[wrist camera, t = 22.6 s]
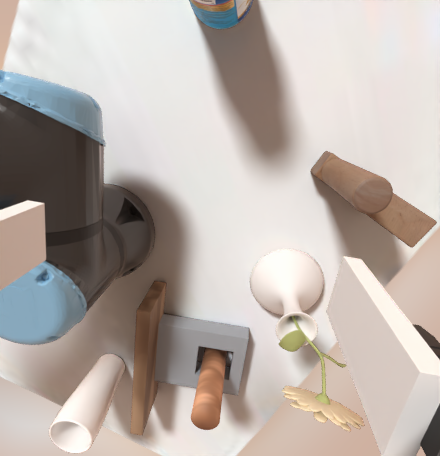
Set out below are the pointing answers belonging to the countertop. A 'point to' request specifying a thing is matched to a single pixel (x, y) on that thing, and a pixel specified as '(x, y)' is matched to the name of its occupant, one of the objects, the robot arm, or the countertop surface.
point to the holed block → (197, 350)
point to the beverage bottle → (221, 12)
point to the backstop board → (146, 356)
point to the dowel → (209, 389)
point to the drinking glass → (87, 406)
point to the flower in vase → (298, 322)
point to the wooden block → (373, 198)
